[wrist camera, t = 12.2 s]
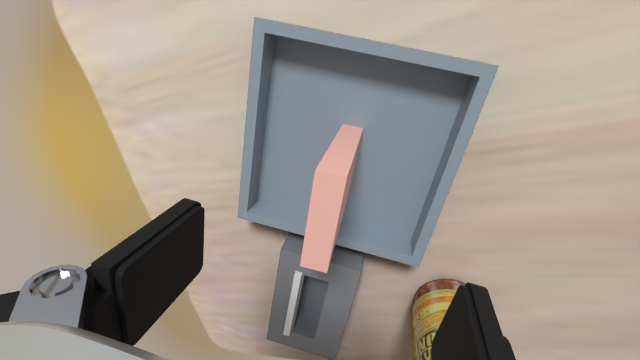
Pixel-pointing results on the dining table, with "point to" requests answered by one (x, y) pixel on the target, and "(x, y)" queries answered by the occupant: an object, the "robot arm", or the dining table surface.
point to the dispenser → (313, 299)
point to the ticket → (330, 198)
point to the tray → (377, 137)
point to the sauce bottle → (430, 313)
